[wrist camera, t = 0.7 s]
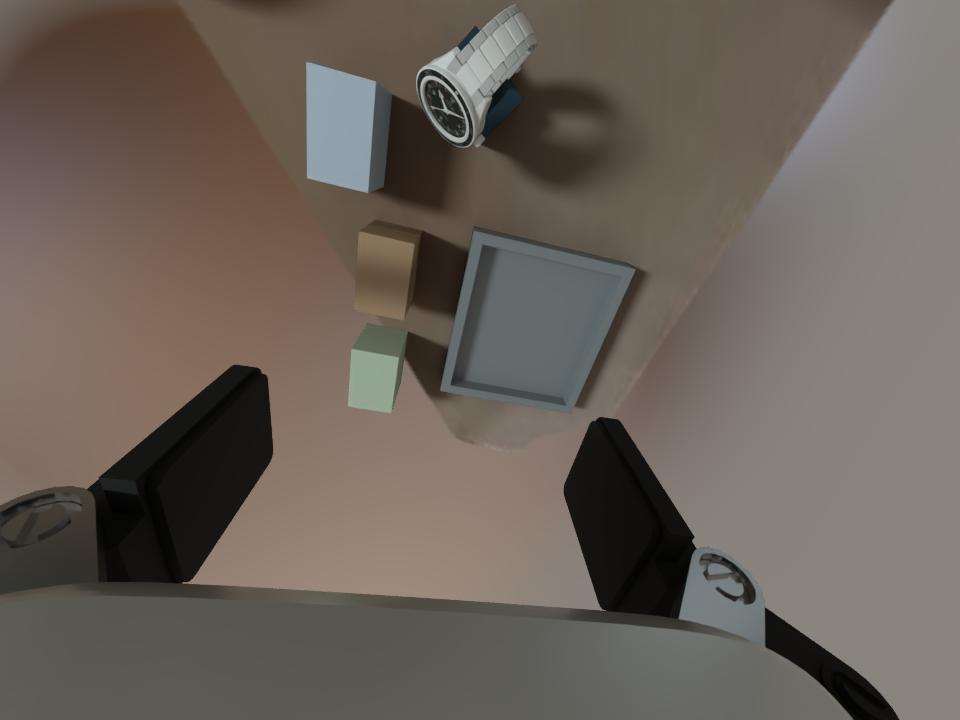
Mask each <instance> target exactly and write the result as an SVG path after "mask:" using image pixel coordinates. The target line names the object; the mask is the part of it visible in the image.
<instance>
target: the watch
mask: <svg viewBox="0 0 960 720" xmlns="http://www.w3.org/2000/svg"><path fill="white" fill-rule="evenodd" d="M537 41H538V38H537V37H536V35H535V33H534V31H533V30H532V28H531V26H530V25H529V23H528V21H527V19H526V18H525V16H524V14H523V13H522V11H521V9H520V8H519V6H518V5H517V4H514V5H512V6H510V7H508V8H507V9H506V10H503V11H502V12H501V13H499V14H498V15H497V16H496V17H495V18H494V19H493V20H491V21H490V22H489V23H488V24H487V25H486V26H485V27H484V28H483V29H482V30H481V31H479V30H478V28H477V27H476V26H475V27H474V28H473V29H472V30H471V32H470V33H469V34H468V35H467V36H466V37H465V38H464V40H463V41H462V42H461V43H460V44H459V45H458V46H457V47H456V48H454V49H452V50H451V51H449V52H448V53H446V54H445V55H443V56H441V57H439V58H436V59H434V60H433V61H432V62H431V63H429V64H428V65H426V66H424V67H423V68H422V69H421V70H420V71H419V72H418V75H417V79H416V81H417V82H416V83H417V84H416V86H417V92H418V96H419V100H420V103H421V105H422V108H423V110H424V112H425V114H426V116H427V117H428V119H429V121H430V122H431V124H432V125H433V126H434V128H435V129H436V130H437V131H438V133H439V134H440V135H441V136H442V137H443V138H445V139H446V140H447V141H448V142H449V143H451V144H453V145H455V146H457V147H461V148H467V147H469V146H470V145H471V144H472V143H473V144H474V145H475V146H476V148H477V147H478V146H480V145H481V144H482V143H483V142H484V140H485V138H486V137H487V136H488V135H489V134H490V133H491V132H492V131H493V130H494V129H495V128H496V127H497V126H498V125H499V124H500V123H501V122H502V121H503V120H504V119H505V118H506V117H507V116H508V115H509V114H510V113H511V112H512V111H513V110H514V109H515V108H516V107H517V106H518V105H519V104H520V103H521V102H522V101H523V98H522V96H521V95H520V93H519V92H518V90H517V89H516V87H515V86H514V84H513V82H512V81H511V79H510V78H511V77H512V76H513V75H514V73H515V72H516V73H518V72H519V71H520V70H521V67H520V66H521V65H522V64H523V63H524V62H525V60H526V59H527V58H528V57H529V56H530V54H531V53H532V52H533V51H534V49H535V48H536V47H537Z"/></svg>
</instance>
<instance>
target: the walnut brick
mask: <svg viewBox="0 0 960 720" xmlns="http://www.w3.org/2000/svg"><path fill="white" fill-rule="evenodd" d="M422 232H423V231H422V230H418V229H414V228H409V227H405V226H401V225H396V224H392V223H388V222H384V221H379V220H374V221H373V222H371V223H370V224H369V225H367V226H366V227H364V228H363V229H361V230H360V231H359V237H358V254H357V270H356V286H355V303H354V311H359V312H364V313H369V314H374V315H379V316H384V317H389V318H394V319H399V320H404V319H405V317H406V314H407V312H408V309H409V307H410V304H411V301H412V299H413V294H414V287H415V280H416V273H417V266H418V259H419V253H420V246H421V239H422Z"/></svg>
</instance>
